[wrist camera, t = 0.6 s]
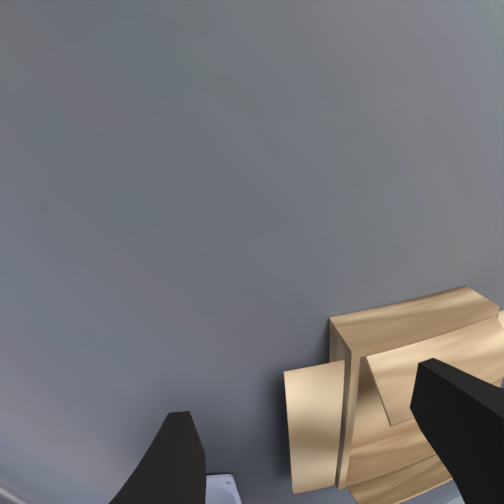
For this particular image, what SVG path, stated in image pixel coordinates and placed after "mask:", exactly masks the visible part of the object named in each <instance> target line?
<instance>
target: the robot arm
mask: <svg viewBox="0 0 504 504" xmlns="http://www.w3.org/2000/svg"><path fill="white" fill-rule="evenodd" d="M410 410H411V412H412V414H413V416H414V418H415V420H416V422H417V424H418V426H419V428H420V430H421V432H422V433H423V435H424V436H425V438H426V439H427V441H428V442H429V444H430V445H431V447H432V448H433V450H434V451H435V453H436V454H437V455H438V457H439V458H440V460H441V461H442V463H443V464H444V466H445V467H446V469H447V470H448V472H449V473H450V475H451V476H452V478H453V480H454V481H455V483H456V485H457V487H458V489H459V492H460V494H461V496H462V498H463V500H464V502H465V504H504V389H503V388H500V387H497V386H495V385H493V384H490V383H488V382H486V381H483V380H481V379H479V378H477V377H475V376H472V375H470V374H468V373H466V372H464V371H462V370H460V369H458V368H455V367H453V366H451V365H449V364H447V363H445V362H442V361H440V360H438V359H435V358H431V359H428V360H425V361H422V362H419V363H418V367H417V373H416V378H415V384H414V389H413V394H412V398H411V403H410ZM109 504H242V501H241V498H240V495H239V492H238V489H237V486H236V483H235V480H234V477H233V475H231V474H220V475H206V462H205V452H204V449H203V447H202V444H201V441H200V439H199V436H198V433H197V431H196V428H195V425H194V423H193V420H192V417H191V414H190V411H185V412H172V413H169V414H168V415H167V417H166V419H165V420H164V422H163V424H162V426H161V428H160V430H159V431H158V433H157V435H156V437H155V438H154V440H153V442H152V444H151V445H150V447H149V449H148V450H147V452H146V453H145V455H144V457H143V458H142V460H141V461H140V463H139V464H138V466H137V467H136V469H135V470H134V472H133V473H132V475H131V476H130V477H129V479H128V480H127V481H126V483H125V484H124V486H123V487H122V488H121V490H120V491H119V492H118V493H117V495H116V496H115V497H114V498H113V499H112V501H111V502H110V503H109Z"/></svg>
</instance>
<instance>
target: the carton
mask: <svg viewBox="0 0 504 504" xmlns="http://www.w3.org/2000/svg"><path fill="white" fill-rule="evenodd" d="M499 308H500V307H499V306H498V305H496V304H495V303H493V302H491V301H490V300H488V299H486V298H485V297H483V296H482V295H480V294H478V293H477V292H475V291H473V290H472V289H470V288H468V287H467V286H462V287H458V288H455V289H451V290H447V291H443V292H439V293H436V294H432V295H428V296H424V297H420V298H415V299H411V300H407V301H403V302H399V303H394V304H390V305H385V306H381V307H376V308H372V309H367V310H362V311H357V312H352V313H347V314H342V315H337V316H332V317H329V363H326V364H321V365H316V366H311V367H306V368H301V369H296V370H290V371H284V383H285V395H286V407H287V420H288V433H289V447H290V461H291V476H292V491H293V494H298V493H303V492H308V491H312V490H317V489H321V488H325V487H329V486H333V485H334V483H336V486H337V489H338V490H341V489H345V488H348V487H351V486H354V485H358V484H361V483H364V482H368V481H371V480H374V479H377V478H380V477H383V476H386V475H388V474H391V473H394V472H397V471H399V470H402V469H405V468H407V467H410V466H412V465H415V464H417V463H420V462H422V461H424V460H427V459H429V458H431V457H433V456H436V455H437V454H436V453H435V451H434V450H433V448H432V447H431V445H430V444H429V442H428V441H427V439H426V438H425V436H424V435H423V433H422V432H421V430H420V428H419V426H418V424H417V422H416V420H415V418H414V419H412V420H409V421H406V422H404V423H401V424H398V425H395V426H392V427H390V425H389V422H388V419H387V416H386V413H385V411H384V408H383V405H382V402H381V399H380V396H379V394H378V391H377V388H376V385H375V383H374V380H373V377H372V374H371V372H370V369H369V366H368V364H367V361H366V356H370V355H374V354H378V353H382V352H386V351H389V350H393V349H397V348H400V347H404V346H407V345H410V344H414V343H417V342H420V341H424V340H427V339H430V338H433V337H436V336H439V335H442V334H445V333H448V332H451V331H454V330H457V329H460V328H463V327H466V326H468V325H471V324H474V323H477V322H479V321H482V320H485V319H487V318H490V317H492V316H495V315H496V317H497V319H498V320H499V322H500V323H501V325H502V327H503V328H504V310H503V311H500V312H499ZM502 380H503V378H502V379H500V380H498V381H496V382H494V383H492V384H493V385H495V386H497V387H500V385H501V382H502Z"/></svg>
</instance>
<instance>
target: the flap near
mask: <svg viewBox="0 0 504 504" xmlns="http://www.w3.org/2000/svg"><path fill="white" fill-rule="evenodd" d="M431 358H435V359H438V360H440V361H442V362H445V363H447V364H449V365H451V366H453V367H455V368H458V369H460V370H462V371H464V372H466V373H468V374H470V375H472V376H475V377H477V378H479V379H481V380H483V381H486V382H488V383H490V384H492V383H494V382H496V381H498V380H500V379H502V378H504V328H503V327H502V325H501V323H500V322H499V320H498V319H497V317H496V315H495V316H492V317H490V318H487V319H485V320H482V321H479V322H477V323H474V324H471V325H468V326H466V327H463V328H460V329H457V330H454V331H451V332H448V333H445V334H442V335H439V336H436V337H433V338H430V339H427V340H424V341H420V342H417V343H414V344H410V345H407V346H404V347H400V348H397V349H393V350H389V351H386V352H382V353H378V354H374V355H370V356H366V361H367V364H368V366H369V369H370V372H371V374H372V377H373V380H374V383H375V385H376V388H377V391H378V394H379V396H380V399H381V402H382V405H383V408H384V411H385V413H386V416H387V419H388V422H389V425H390V427H392V426H395V425H398V424H401V423H404V422H406V421H409V420H412V419H414V416H413V414H412V412H411V410H410V403H411V398H412V394H413V389H414V384H415V378H416V373H417V367H418V363H419V362H422V361H425V360H428V359H431Z"/></svg>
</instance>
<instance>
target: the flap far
mask: <svg viewBox="0 0 504 504" xmlns="http://www.w3.org/2000/svg"><path fill="white" fill-rule="evenodd" d="M452 479H453V478H452V476H451V475H450V473H449V472H448V470H447V469H446V467H445V466H444V464H443V463H442V461H441V460H440V458H439V457H438V455H436V456H433V457H431V458H429V459H427V460H424V461H422V462H420V463H417V464H415V465H412V466H410V467H407V468H405V469H402V470H399V471H397V472H394V473H391V474H388V475H386V476H383V477H380V478H377V479H374V480H371V481H368V482H364V483H361V484H358V485H354V486H351V487H348V490H349V492H350V493H351V495H352V496H353V498H354V499H355V501H356V503H357V504H398V503H401V502H403V501H406V500H408V499H411V498H413V497H415V496H418V495H420V494H422V493H425V492H427V491H429V490H431V489H433V488H435V487H438V486H440V485H442V484H444V483H446V482H448V481H450V480H452Z"/></svg>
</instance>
